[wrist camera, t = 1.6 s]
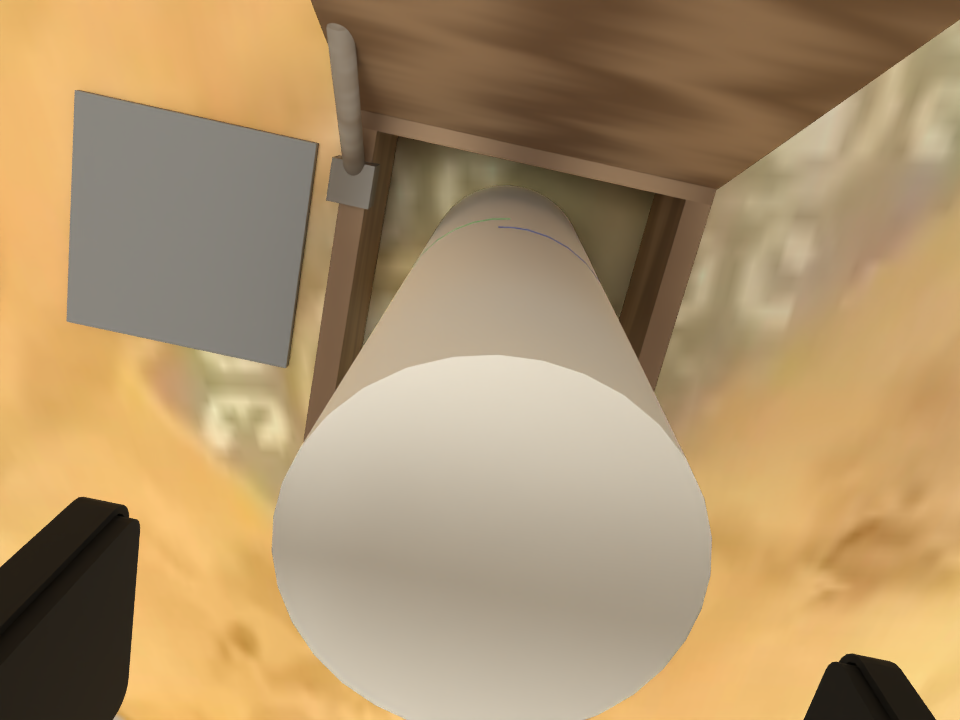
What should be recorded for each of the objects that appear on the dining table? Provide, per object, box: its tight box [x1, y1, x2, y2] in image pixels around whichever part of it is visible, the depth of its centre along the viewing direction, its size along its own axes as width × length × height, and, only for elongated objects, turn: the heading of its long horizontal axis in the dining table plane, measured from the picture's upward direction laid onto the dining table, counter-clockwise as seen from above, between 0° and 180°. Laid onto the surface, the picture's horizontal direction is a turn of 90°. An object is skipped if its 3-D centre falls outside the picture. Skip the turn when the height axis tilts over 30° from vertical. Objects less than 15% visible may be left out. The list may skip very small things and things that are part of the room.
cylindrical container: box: [272, 185, 712, 720], centre depth 24 cm, size 7×7×25 cm
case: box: [303, 0, 960, 442], centre depth 26 cm, size 14×22×21 cm, turn 168°
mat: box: [67, 90, 319, 368], centre depth 36 cm, size 11×11×1 cm
